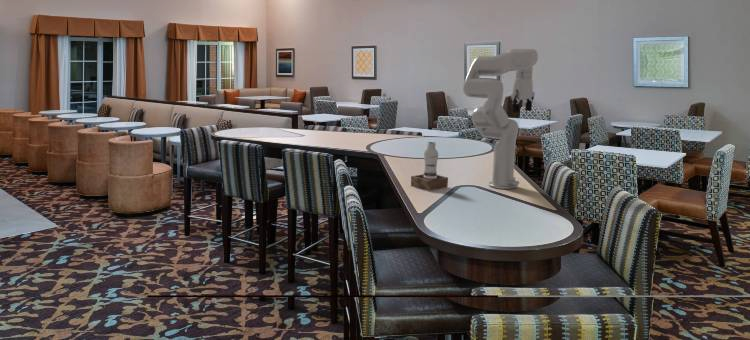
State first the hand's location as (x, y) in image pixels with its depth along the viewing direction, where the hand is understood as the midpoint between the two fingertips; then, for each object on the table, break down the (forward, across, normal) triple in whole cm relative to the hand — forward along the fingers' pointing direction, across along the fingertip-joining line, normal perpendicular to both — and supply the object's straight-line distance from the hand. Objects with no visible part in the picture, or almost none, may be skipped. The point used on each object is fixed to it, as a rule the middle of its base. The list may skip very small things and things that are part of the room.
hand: (522, 111), depth 277 cm
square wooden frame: (+33, +47, -15) cm, 59 cm away
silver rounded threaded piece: (+32, +47, -15) cm, 59 cm away
